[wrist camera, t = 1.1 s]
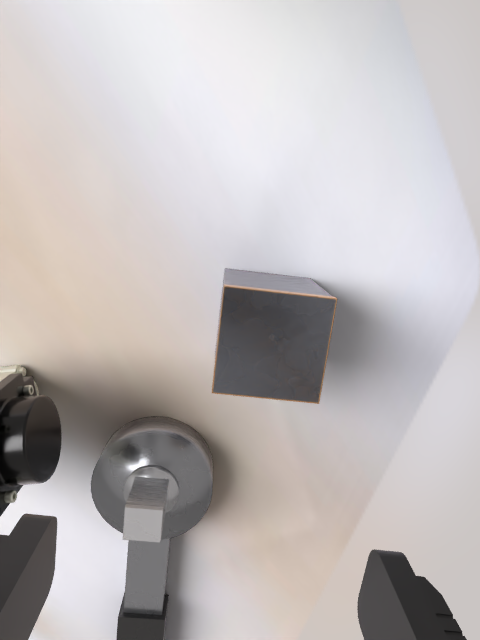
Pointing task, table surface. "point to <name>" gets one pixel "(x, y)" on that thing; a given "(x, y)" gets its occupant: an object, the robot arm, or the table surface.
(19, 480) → the pneumatic valve
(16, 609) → the robot arm
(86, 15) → the table surface
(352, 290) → the table surface
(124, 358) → the table surface
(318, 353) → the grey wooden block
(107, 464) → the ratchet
